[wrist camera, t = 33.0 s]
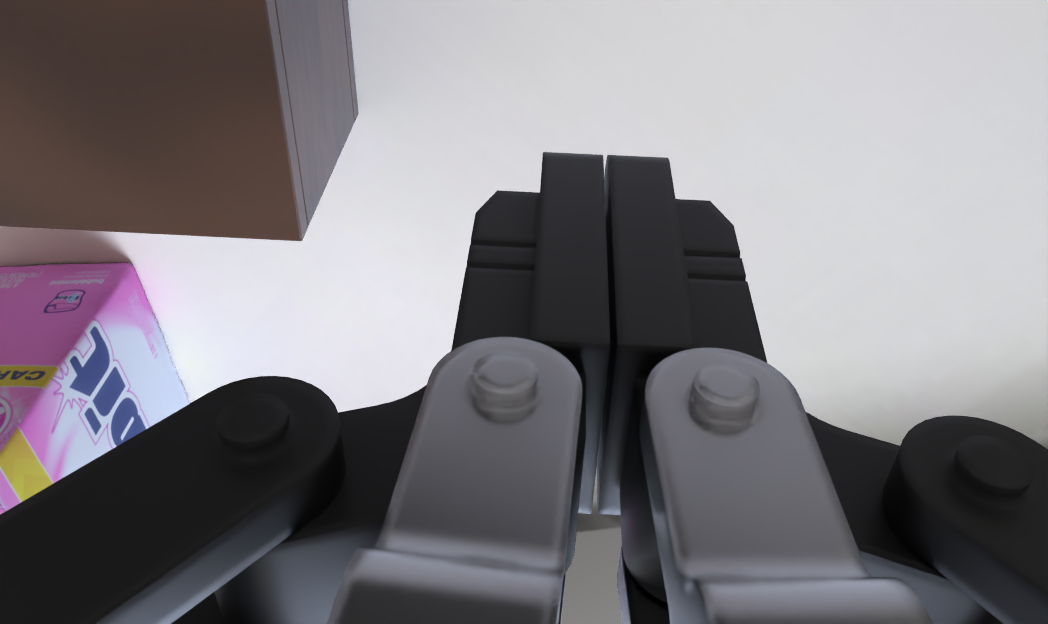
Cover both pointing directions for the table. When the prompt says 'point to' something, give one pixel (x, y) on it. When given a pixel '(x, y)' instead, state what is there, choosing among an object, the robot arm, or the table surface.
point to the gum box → (76, 370)
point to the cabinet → (172, 114)
